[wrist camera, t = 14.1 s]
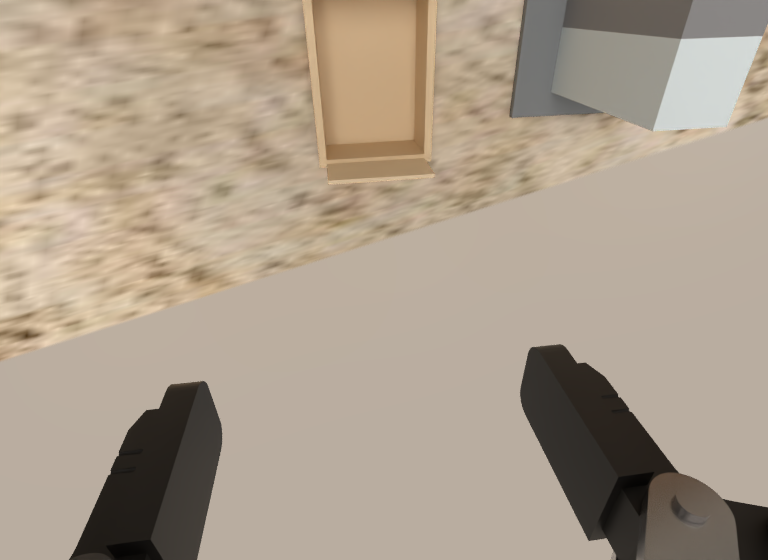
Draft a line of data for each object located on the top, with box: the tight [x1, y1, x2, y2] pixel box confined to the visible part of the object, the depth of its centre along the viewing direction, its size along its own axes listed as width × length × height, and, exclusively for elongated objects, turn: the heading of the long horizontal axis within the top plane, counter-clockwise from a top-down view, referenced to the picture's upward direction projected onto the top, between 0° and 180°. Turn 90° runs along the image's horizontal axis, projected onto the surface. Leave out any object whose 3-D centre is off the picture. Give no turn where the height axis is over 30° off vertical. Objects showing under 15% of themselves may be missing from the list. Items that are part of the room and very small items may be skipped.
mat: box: [510, 0, 604, 118], centre depth 37 cm, size 12×12×1 cm
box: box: [551, 0, 768, 131], centre depth 31 cm, size 8×5×14 cm, turn 1°
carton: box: [302, 0, 437, 185], centre depth 33 cm, size 12×9×9 cm
